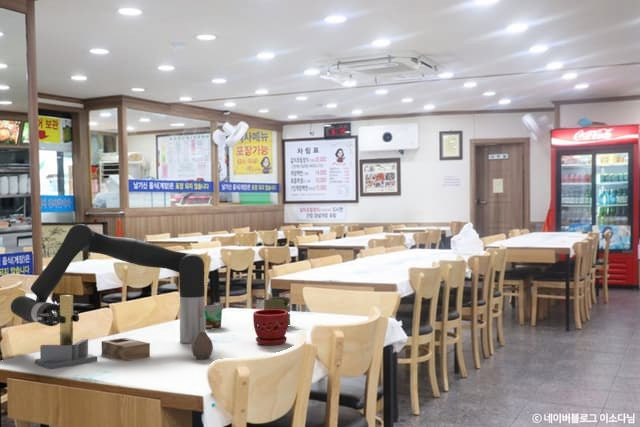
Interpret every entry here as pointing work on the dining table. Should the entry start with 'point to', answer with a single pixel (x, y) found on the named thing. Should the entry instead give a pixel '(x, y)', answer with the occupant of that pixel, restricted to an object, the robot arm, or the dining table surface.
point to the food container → (213, 315)
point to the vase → (202, 346)
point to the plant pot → (270, 326)
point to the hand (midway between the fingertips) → (70, 319)
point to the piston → (278, 304)
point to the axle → (66, 320)
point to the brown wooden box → (126, 349)
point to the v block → (64, 355)
